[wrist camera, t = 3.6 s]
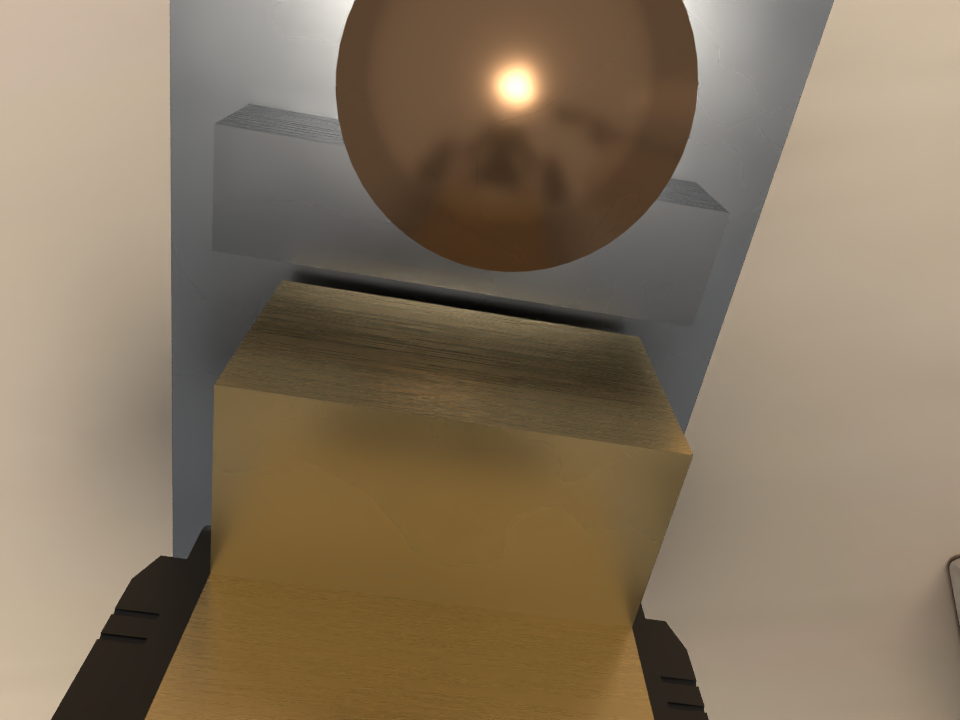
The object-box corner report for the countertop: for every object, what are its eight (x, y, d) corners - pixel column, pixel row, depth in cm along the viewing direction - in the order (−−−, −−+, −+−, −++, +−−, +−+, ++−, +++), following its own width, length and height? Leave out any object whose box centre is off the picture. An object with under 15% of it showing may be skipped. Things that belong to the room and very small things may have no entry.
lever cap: (638, 336, 11) (801, 691, 5) (516, 755, 15) (538, 1200, 9) (281, 279, 10) (71, 603, 5) (254, 726, 14) (121, 1173, 9)
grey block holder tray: (716, -8, 14) (1165, 19, 5) (529, 658, 21) (570, 1151, 12) (271, -96, 13) (-153, -253, 4) (239, 624, 21) (60, 1119, 12)
